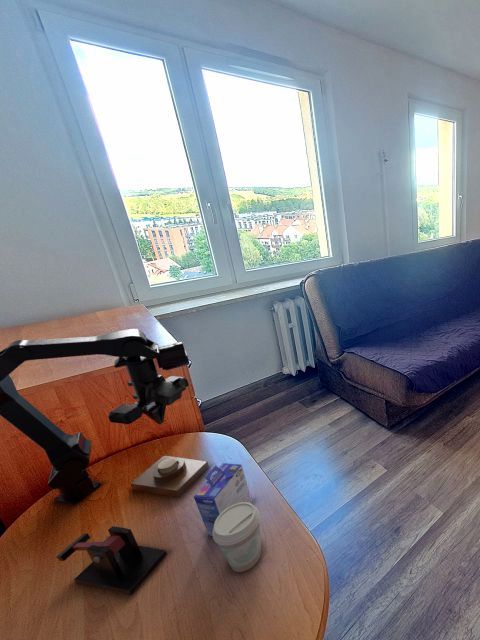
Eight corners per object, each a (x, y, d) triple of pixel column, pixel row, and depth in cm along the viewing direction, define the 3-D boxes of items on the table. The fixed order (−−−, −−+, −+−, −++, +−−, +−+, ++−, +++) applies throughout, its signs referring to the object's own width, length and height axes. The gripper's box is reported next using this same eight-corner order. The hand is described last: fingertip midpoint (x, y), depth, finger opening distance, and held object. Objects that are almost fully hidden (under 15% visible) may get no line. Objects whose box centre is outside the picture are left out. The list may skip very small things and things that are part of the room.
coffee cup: (222, 587, 66) (208, 546, 62) (224, 549, 73) (212, 509, 69) (269, 566, 70) (259, 526, 65) (266, 532, 77) (257, 493, 72)
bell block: (132, 489, 87) (128, 478, 86) (166, 461, 97) (162, 450, 95) (179, 497, 85) (175, 485, 84) (209, 467, 95) (205, 456, 93)
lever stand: (75, 583, 66) (58, 553, 63) (116, 544, 74) (102, 516, 71) (131, 595, 65) (116, 565, 61) (167, 553, 72) (155, 525, 69)
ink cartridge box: (233, 498, 85) (220, 454, 80) (253, 500, 84) (242, 456, 79) (205, 535, 76) (189, 488, 71) (228, 538, 75) (213, 490, 70)
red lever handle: (61, 563, 68) (54, 554, 67) (88, 539, 72) (81, 531, 71) (107, 561, 64) (100, 553, 64) (132, 537, 69) (126, 528, 68)
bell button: (155, 472, 88) (153, 467, 87) (168, 461, 92) (167, 456, 91) (168, 474, 88) (167, 469, 87) (181, 463, 91) (179, 458, 91)
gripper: (136, 398, 79) (155, 450, 84) (198, 361, 96) (210, 406, 102) (96, 394, 80) (118, 445, 86) (164, 358, 97) (178, 403, 103)
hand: (160, 423), depth 94 cm, fingers closed
